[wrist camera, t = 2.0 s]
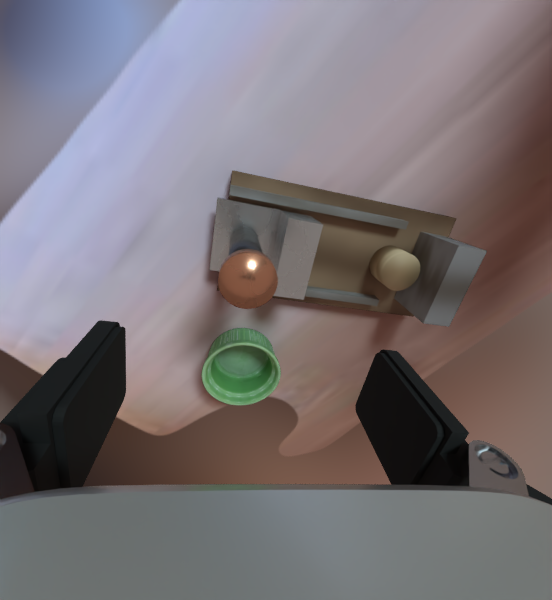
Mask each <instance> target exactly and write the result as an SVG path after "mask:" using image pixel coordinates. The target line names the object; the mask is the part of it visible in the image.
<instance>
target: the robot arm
mask: <svg viewBox="0 0 552 600" xmlns="http://www.w3.org/2000/svg"><path fill="white" fill-rule="evenodd" d="M125 393H126V347H125V328H124V327H120V325H119V323H118V322H110V321H98V322H97V323H96V324H95V325H94V327H93V328H92V329H91V330H90V331H89V332H88V333H87V334H86V336H85V337H84V338H83V339H82V340H81V341H80V342H79V344H78V345H77V346H76V347H75V348H74V349H73V350H72V351H71V353H70V354H69V355H68V356H67V357H66V358H60V359H59V360H57V361H56V362H55V363H54V364H53V365H52V366H51V368H50V369H49V370H48V371H47V372H46V373H45V374H44V375H43V376H42V377H41V379H40V380H39V381H38V382H37V383H36V384H35V385H34V386H33V387H32V388H31V389H30V391H29V392H28V393H27V394H26V395H25V396H24V397H23V398H22V400H20V401H19V403H18V404H17V405H16V406H15V407H14V408H13V409H12V410H11V411H10V413H9V414H8V415H7V416H6V417H5V418H4V419H3V420H2V421H1V422H0V600H552V499H551V498H549V497H548V496H546V495H544V494H543V493H541V492H539V491H537V490H536V489H534V488H532V487H530V486H529V485H527V484H526V481H525V476H524V474H523V472H522V469H521V468H520V467H519V465H518V464H517V463H516V462H515V461H514V460H513V459H512V458H511V457H510V456H509V455H508V454H506V453H505V452H504V451H502V450H501V449H499V448H497V447H496V446H494V445H492V444H490V443H487V442H484V441H480V440H475V441H472V442H470V443H469V444H468V443H467V442H466V441H465V439H466V437H467V435H468V434H469V433H468V431H467V430H466V429H465V428H464V427H463V425H462V424H461V423H460V422H459V421H458V420H457V419H456V417H455V416H454V415H453V414H452V413H451V412H450V411H449V409H448V408H447V407H446V406H445V405H444V404H443V403H442V401H441V400H440V399H439V398H438V397H437V396H436V395H435V393H434V392H433V391H432V390H431V389H430V388H429V387H428V385H427V384H426V383H425V382H424V381H423V380H422V379H421V377H420V376H419V375H418V374H417V373H416V372H415V371H414V369H413V368H412V367H411V366H410V365H409V364H408V363H407V361H406V360H405V359H404V358H403V357H402V356H401V355H400V353H399V352H397V351H392V350H381V351H380V352H379V353H377V354H376V355H375V357H374V360H373V362H372V365H371V367H370V370H369V372H368V375H367V377H366V380H365V382H364V385H363V387H362V390H361V392H360V395H359V397H358V400H357V403H356V413H357V415H358V417H359V419H360V421H361V423H362V425H363V427H364V429H365V431H366V433H367V435H368V438H369V440H370V442H371V444H372V446H373V448H374V450H375V452H376V454H377V456H378V458H379V460H380V462H381V464H382V466H383V468H384V470H385V472H386V474H387V476H388V478H389V480H390V482H391V484H392V485H369V484H366V485H365V484H362V485H361V484H358V485H357V484H205V485H202V484H198V485H197V484H195V485H193V484H192V485H191V484H187V485H121V486H91V487H83V484H84V482H85V480H86V478H87V476H88V474H89V472H90V470H91V468H92V465H93V463H94V461H95V459H96V457H97V455H98V453H99V451H100V449H101V446H102V444H103V442H104V440H105V438H106V436H107V434H108V432H109V430H110V428H111V425H112V423H113V421H114V419H115V417H116V415H117V413H118V411H119V409H120V407H121V405H122V402H123V400H124V397H125Z"/></svg>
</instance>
